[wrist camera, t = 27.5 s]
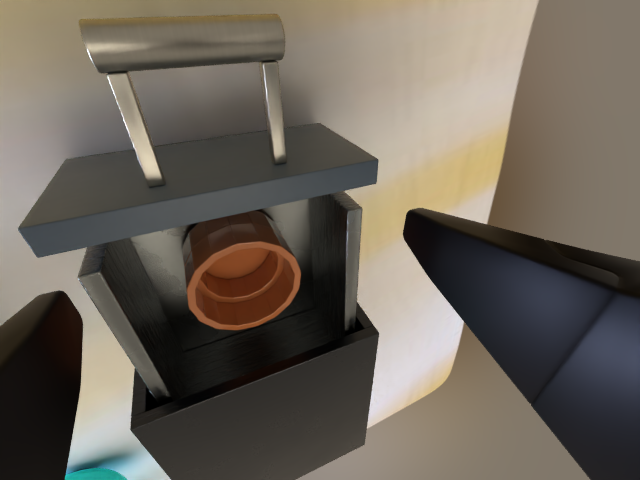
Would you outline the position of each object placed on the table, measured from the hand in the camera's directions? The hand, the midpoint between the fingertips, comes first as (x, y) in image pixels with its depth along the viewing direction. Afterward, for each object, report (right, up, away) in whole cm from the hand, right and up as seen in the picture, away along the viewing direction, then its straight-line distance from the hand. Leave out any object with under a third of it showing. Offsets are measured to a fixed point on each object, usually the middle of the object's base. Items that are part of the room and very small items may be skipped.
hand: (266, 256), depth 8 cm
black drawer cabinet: (-4, -10, +20) cm, 23 cm away
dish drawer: (-5, +2, +11) cm, 12 cm away
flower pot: (-4, 0, +11) cm, 12 cm away
